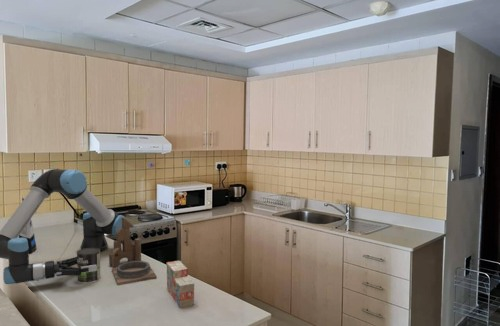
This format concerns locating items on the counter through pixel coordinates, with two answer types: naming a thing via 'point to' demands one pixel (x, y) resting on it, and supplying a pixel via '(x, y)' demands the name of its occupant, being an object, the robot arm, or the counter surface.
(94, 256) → the coffee can
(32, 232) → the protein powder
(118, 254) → the wooden toy
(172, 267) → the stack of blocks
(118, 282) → the jig
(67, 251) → the counter surface
